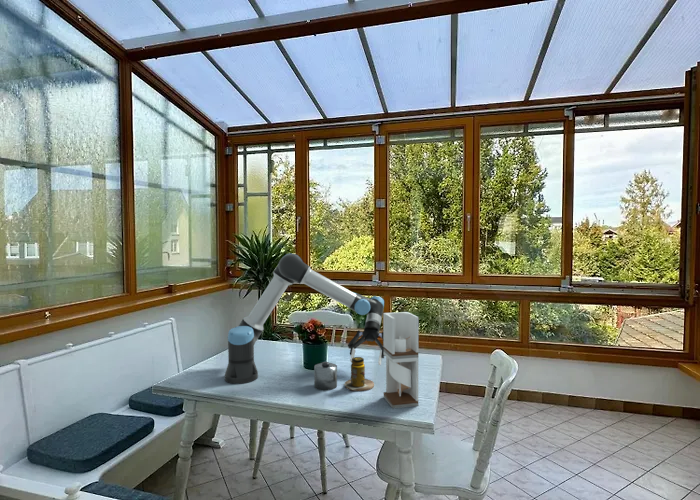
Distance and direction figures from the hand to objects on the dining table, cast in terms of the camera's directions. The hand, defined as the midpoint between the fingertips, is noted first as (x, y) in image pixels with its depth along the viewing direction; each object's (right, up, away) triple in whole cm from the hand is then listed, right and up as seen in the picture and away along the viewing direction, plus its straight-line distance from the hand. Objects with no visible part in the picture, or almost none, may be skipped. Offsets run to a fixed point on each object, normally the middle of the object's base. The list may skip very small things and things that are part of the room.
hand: (365, 362), depth 190 cm
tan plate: (-3, -8, -9) cm, 12 cm away
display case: (+13, -8, -27) cm, 31 cm away
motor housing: (-18, -8, -10) cm, 22 cm away
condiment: (-5, -7, -12) cm, 15 cm away
